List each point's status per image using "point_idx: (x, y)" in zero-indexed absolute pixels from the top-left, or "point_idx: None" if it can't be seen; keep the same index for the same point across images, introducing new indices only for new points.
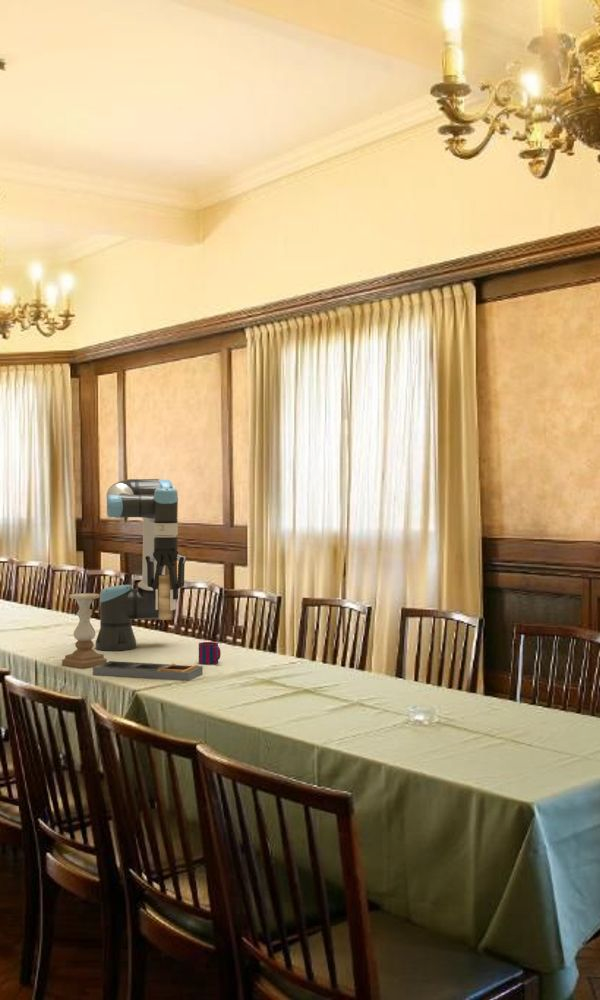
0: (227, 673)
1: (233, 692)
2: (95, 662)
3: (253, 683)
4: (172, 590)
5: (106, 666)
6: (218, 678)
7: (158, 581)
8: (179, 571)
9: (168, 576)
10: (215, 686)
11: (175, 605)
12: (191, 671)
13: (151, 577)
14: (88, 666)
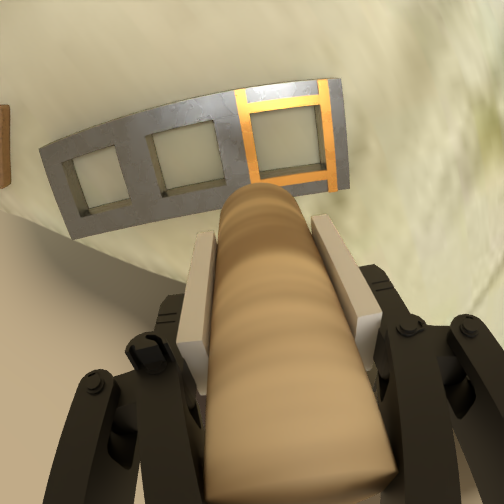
0: (390, 47)
1: (459, 247)
2: (3, 148)
3: (477, 153)
4: (370, 362)
5: (88, 216)
6: (398, 122)
7: (202, 444)
8: (496, 491)
9: (364, 494)
10: (420, 213)
11: (334, 230)
12: (348, 167)
13: (125, 484)
14: (8, 168)
